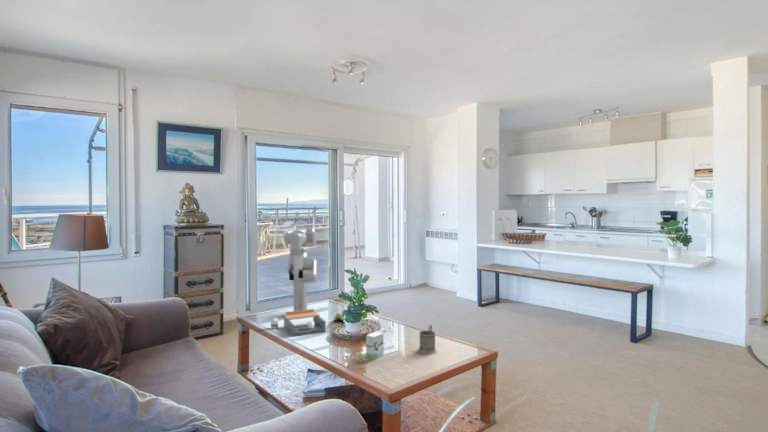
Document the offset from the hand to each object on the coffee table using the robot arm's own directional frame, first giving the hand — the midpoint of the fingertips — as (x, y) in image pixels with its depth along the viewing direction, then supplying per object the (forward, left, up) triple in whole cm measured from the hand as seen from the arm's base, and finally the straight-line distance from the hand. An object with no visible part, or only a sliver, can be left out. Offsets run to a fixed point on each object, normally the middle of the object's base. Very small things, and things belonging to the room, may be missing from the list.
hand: (296, 279), depth 271 cm
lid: (+5, +2, -23) cm, 24 cm away
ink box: (+74, +22, -30) cm, 83 cm away
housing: (+11, +2, -30) cm, 32 cm away
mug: (+77, +52, -30) cm, 98 cm away
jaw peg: (0, -14, -30) cm, 33 cm away
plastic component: (+1, +36, -30) cm, 47 cm away
